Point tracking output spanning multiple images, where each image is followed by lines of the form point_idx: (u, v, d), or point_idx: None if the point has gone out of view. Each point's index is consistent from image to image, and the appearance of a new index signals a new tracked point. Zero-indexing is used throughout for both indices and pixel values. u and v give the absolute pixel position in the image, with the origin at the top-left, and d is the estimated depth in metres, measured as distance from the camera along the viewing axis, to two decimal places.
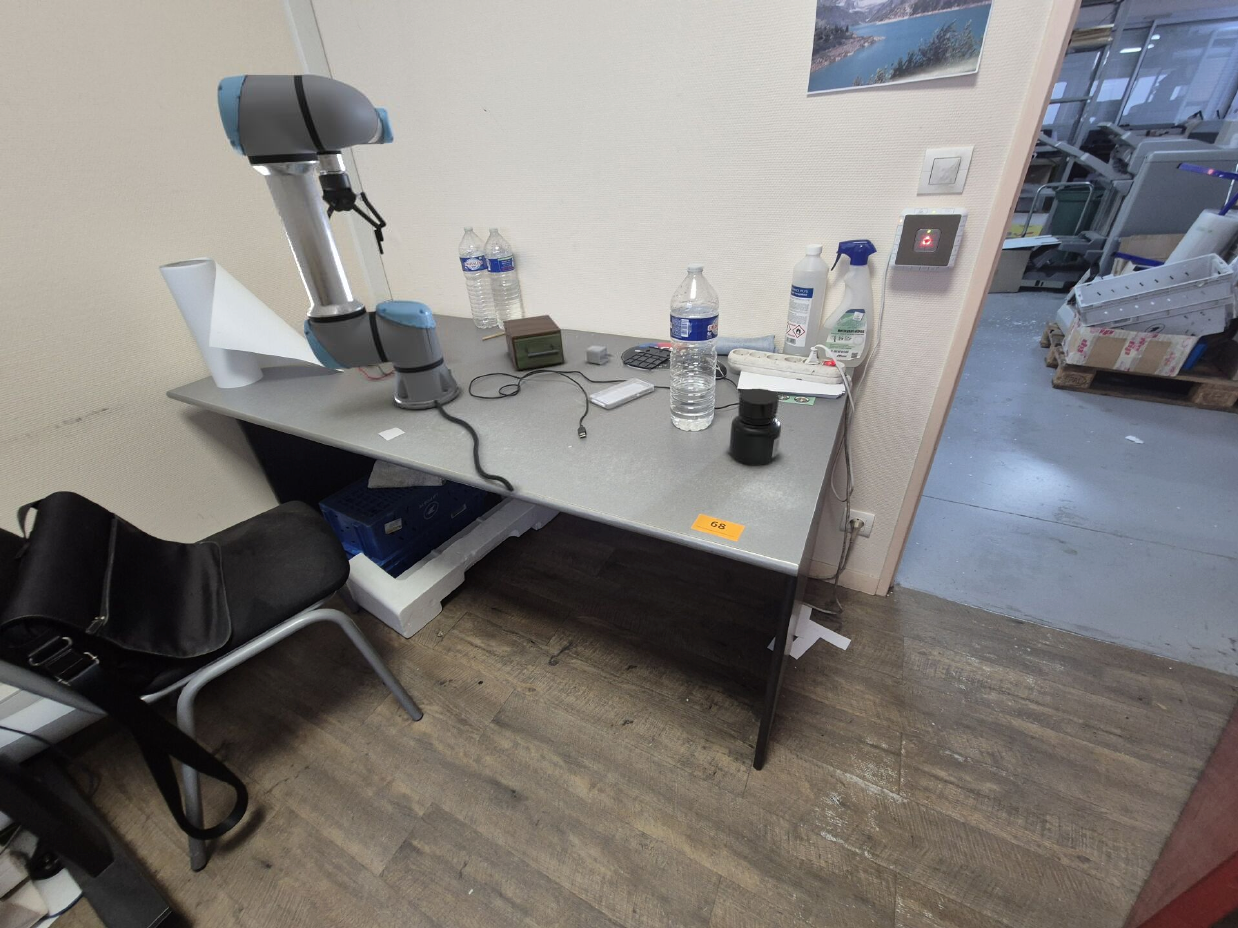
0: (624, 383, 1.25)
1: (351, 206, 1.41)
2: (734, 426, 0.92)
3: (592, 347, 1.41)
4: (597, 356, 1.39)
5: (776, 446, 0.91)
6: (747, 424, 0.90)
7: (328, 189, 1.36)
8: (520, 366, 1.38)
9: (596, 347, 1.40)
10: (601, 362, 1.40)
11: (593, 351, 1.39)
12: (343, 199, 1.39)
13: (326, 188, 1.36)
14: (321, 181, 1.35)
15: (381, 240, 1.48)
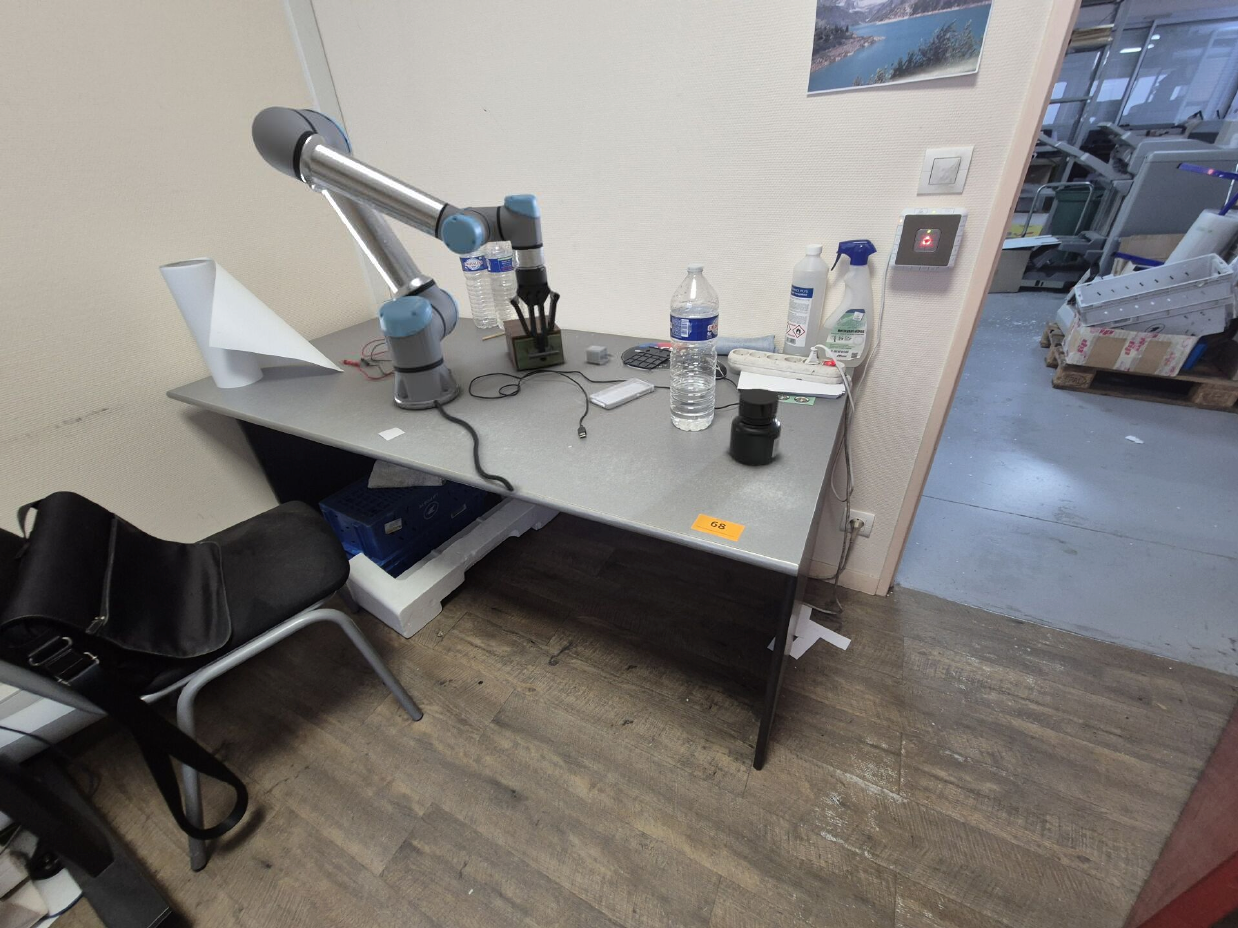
0: (624, 383, 1.25)
1: (540, 303, 1.25)
2: (734, 426, 0.92)
3: (592, 347, 1.41)
4: (597, 356, 1.39)
5: (776, 446, 0.91)
6: (747, 424, 0.90)
7: (527, 285, 1.21)
8: (520, 367, 1.37)
9: (596, 347, 1.40)
10: (601, 362, 1.40)
11: (593, 351, 1.39)
12: (539, 294, 1.24)
13: (525, 284, 1.21)
14: (520, 276, 1.20)
15: (546, 346, 1.32)
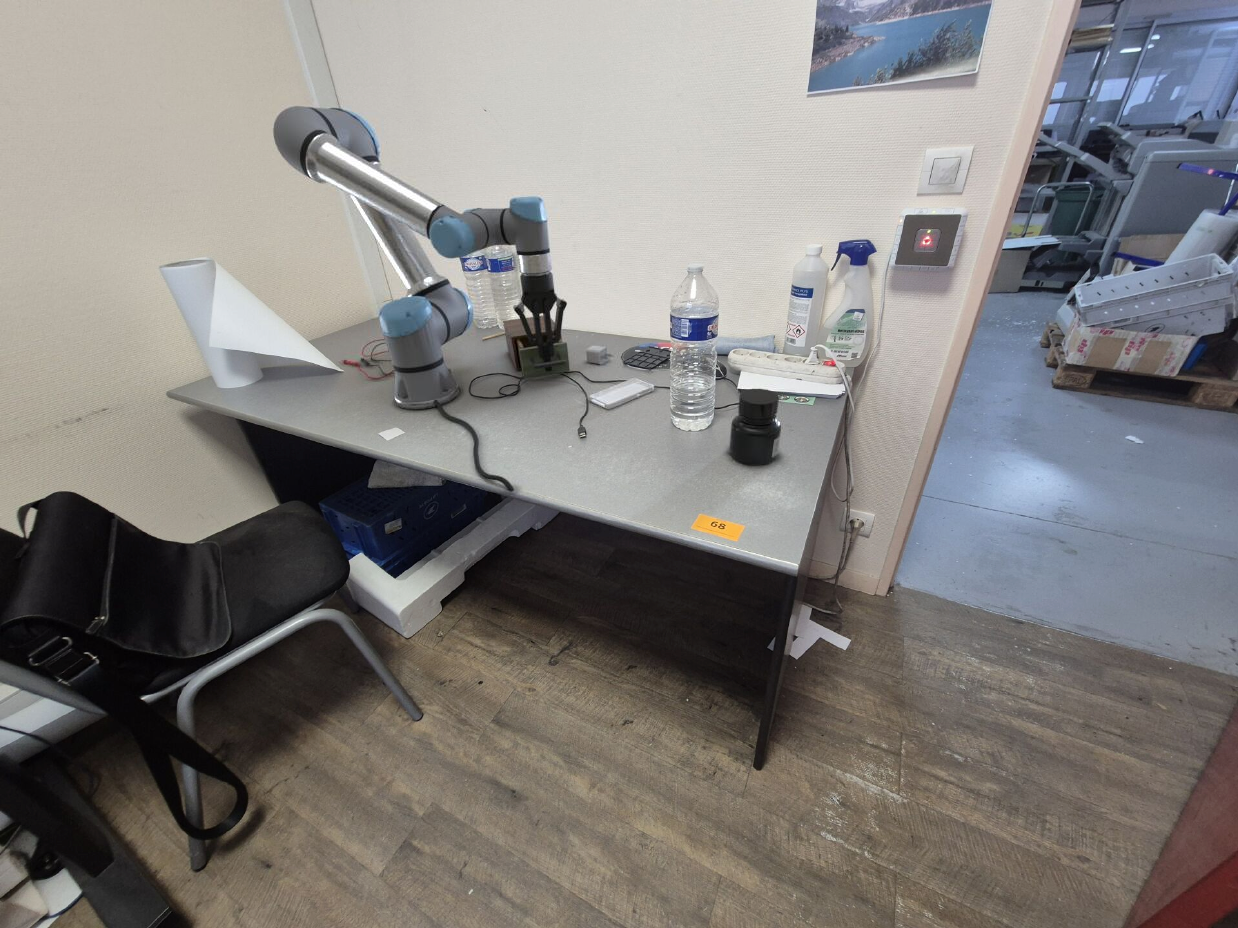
0: (624, 383, 1.25)
1: (546, 311, 1.19)
2: (734, 426, 0.92)
3: (592, 347, 1.41)
4: (597, 356, 1.39)
5: (776, 446, 0.91)
6: (747, 424, 0.90)
7: (532, 292, 1.15)
8: (525, 376, 1.31)
9: (596, 347, 1.40)
10: (601, 362, 1.40)
11: (593, 351, 1.39)
12: (545, 301, 1.18)
13: (530, 291, 1.15)
14: (525, 283, 1.14)
15: (551, 355, 1.26)
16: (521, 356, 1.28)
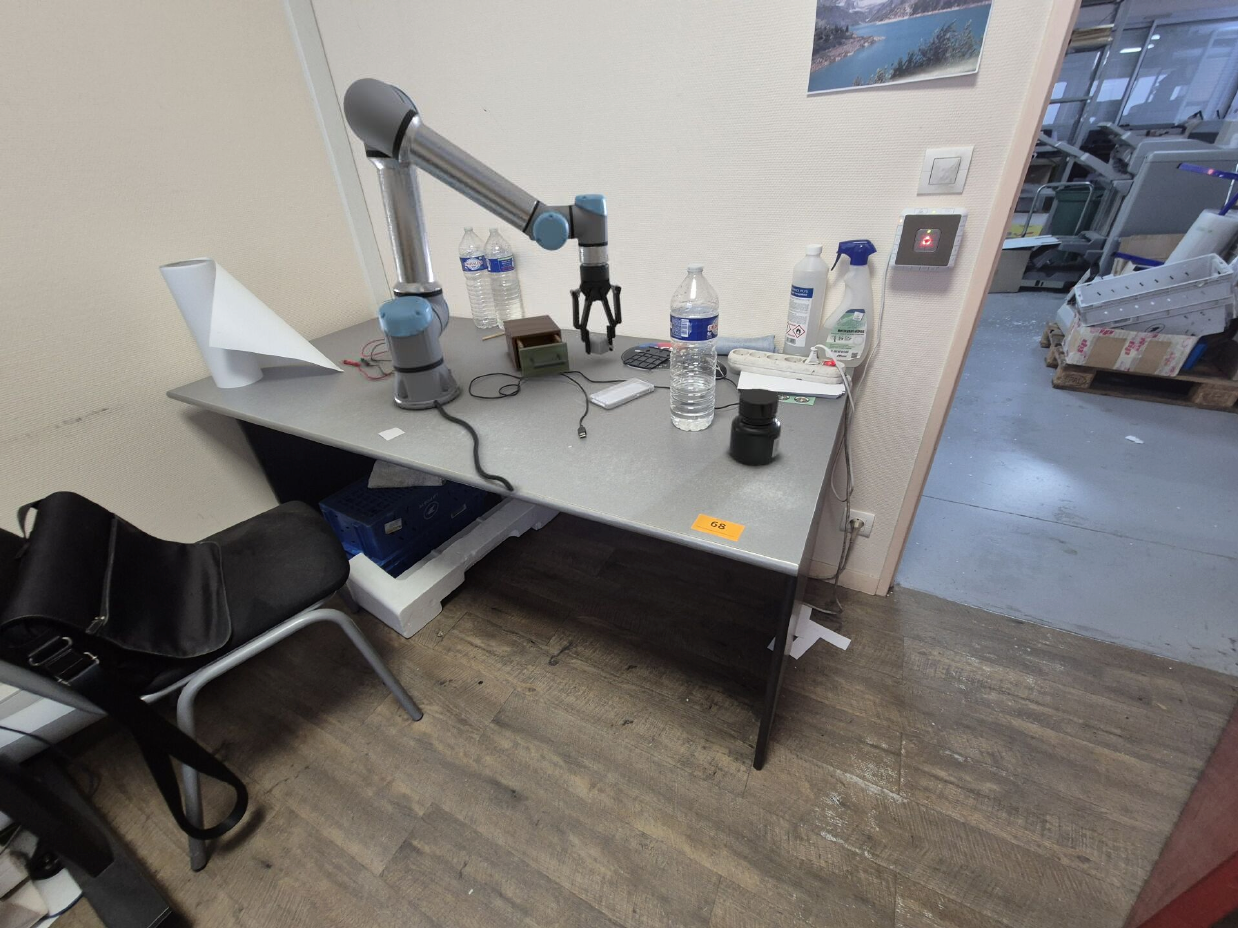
0: (624, 383, 1.25)
1: (604, 298, 1.31)
2: (734, 426, 0.92)
3: (594, 337, 1.39)
4: (597, 346, 1.37)
5: (776, 446, 0.91)
6: (747, 424, 0.90)
7: (591, 281, 1.26)
8: (525, 376, 1.31)
9: (598, 337, 1.39)
10: (601, 353, 1.38)
11: (594, 341, 1.37)
12: (601, 289, 1.29)
13: (589, 280, 1.26)
14: (585, 272, 1.26)
15: (613, 337, 1.38)
16: (521, 356, 1.28)
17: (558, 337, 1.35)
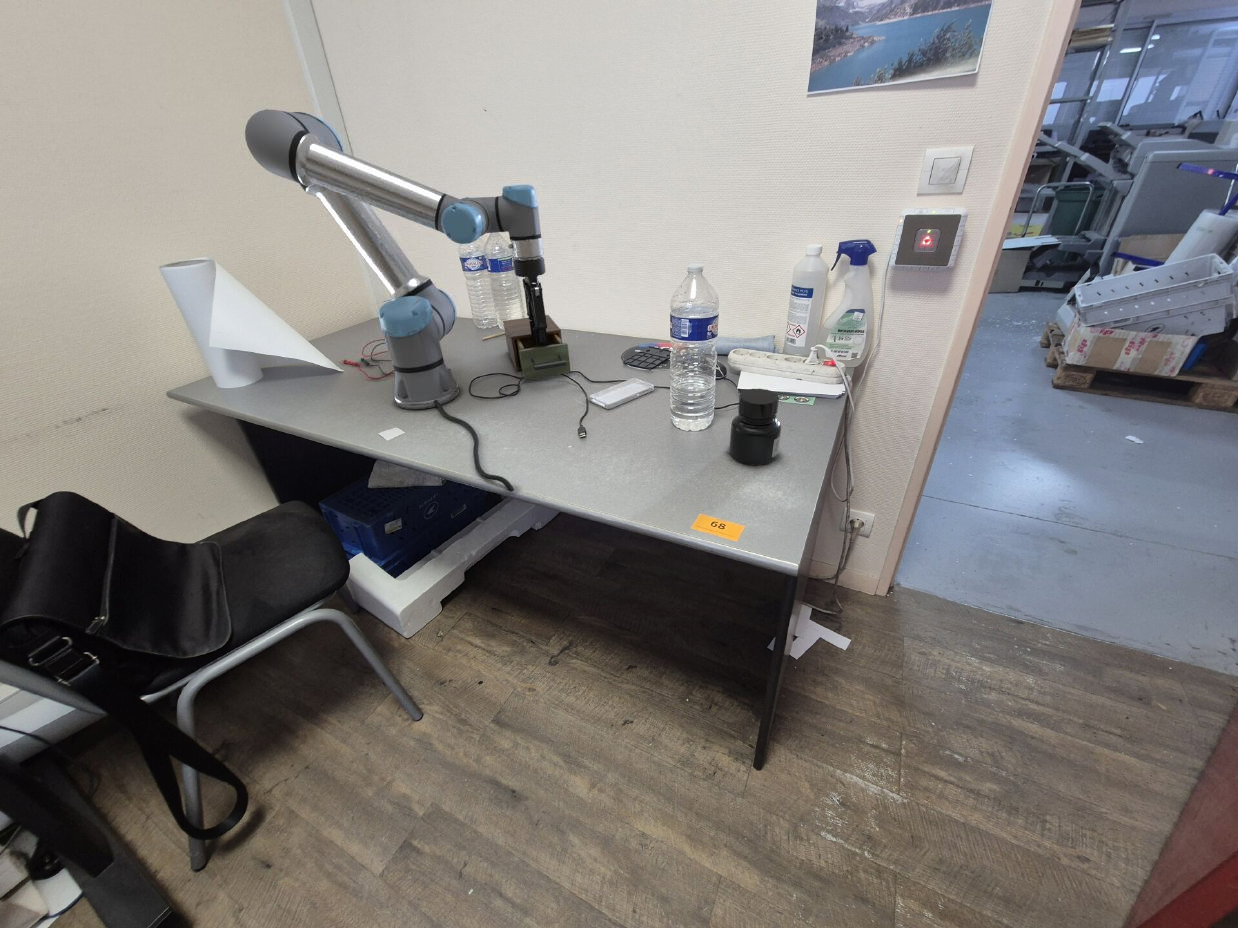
0: (624, 383, 1.25)
1: None
2: (734, 426, 0.92)
3: None
4: None
5: (776, 446, 0.91)
6: (747, 424, 0.90)
7: None
8: (525, 377, 1.30)
9: None
10: None
11: None
12: (538, 282, 1.26)
13: (543, 272, 1.22)
14: (540, 265, 1.21)
15: None
16: (522, 357, 1.27)
17: (559, 338, 1.34)
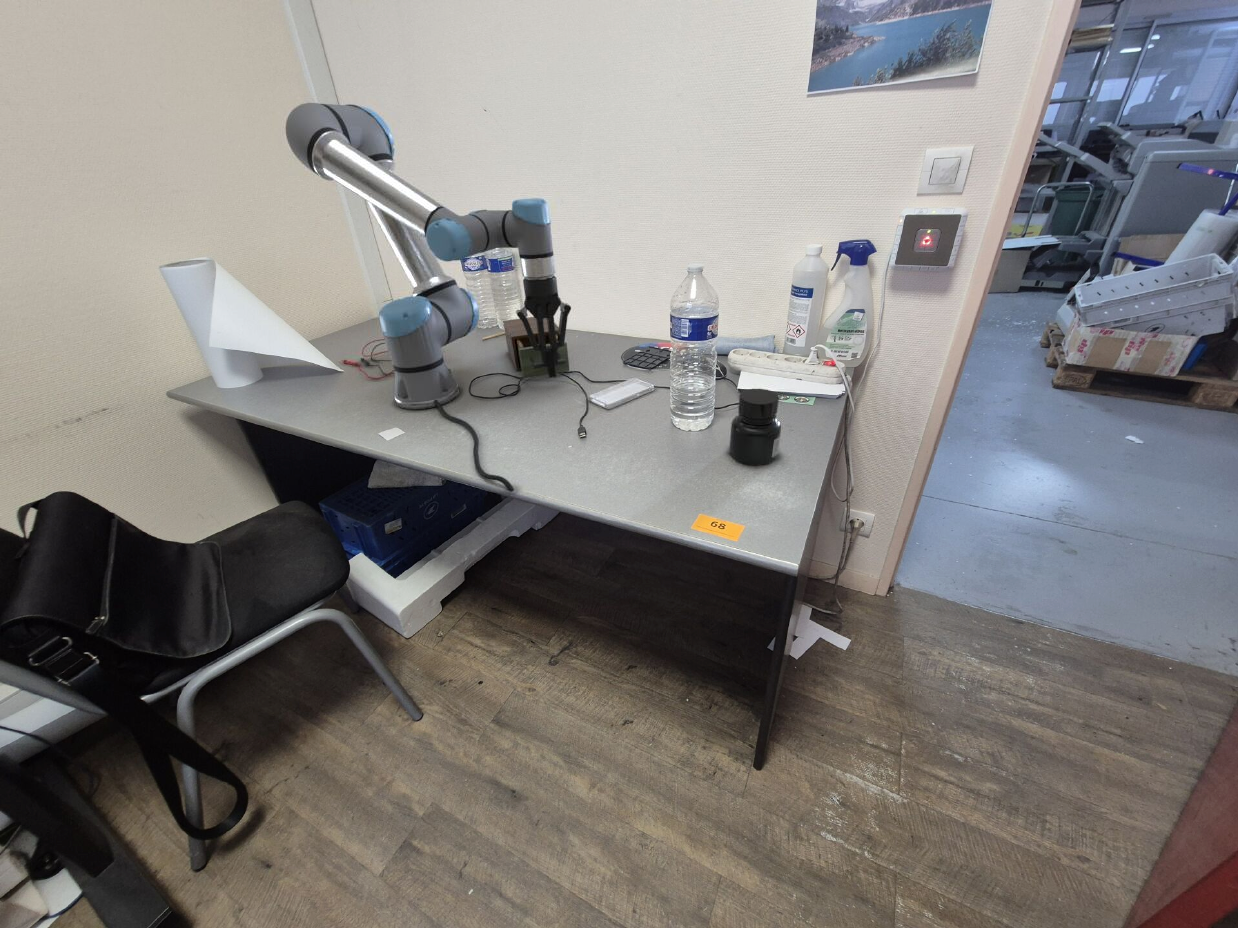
0: (624, 383, 1.25)
1: (550, 315, 1.16)
2: (734, 426, 0.92)
3: None
4: None
5: (776, 446, 0.91)
6: (747, 424, 0.90)
7: (536, 296, 1.12)
8: (525, 376, 1.31)
9: None
10: None
11: None
12: (548, 306, 1.15)
13: (533, 295, 1.11)
14: (528, 287, 1.11)
15: (555, 361, 1.23)
16: (521, 356, 1.28)
17: None
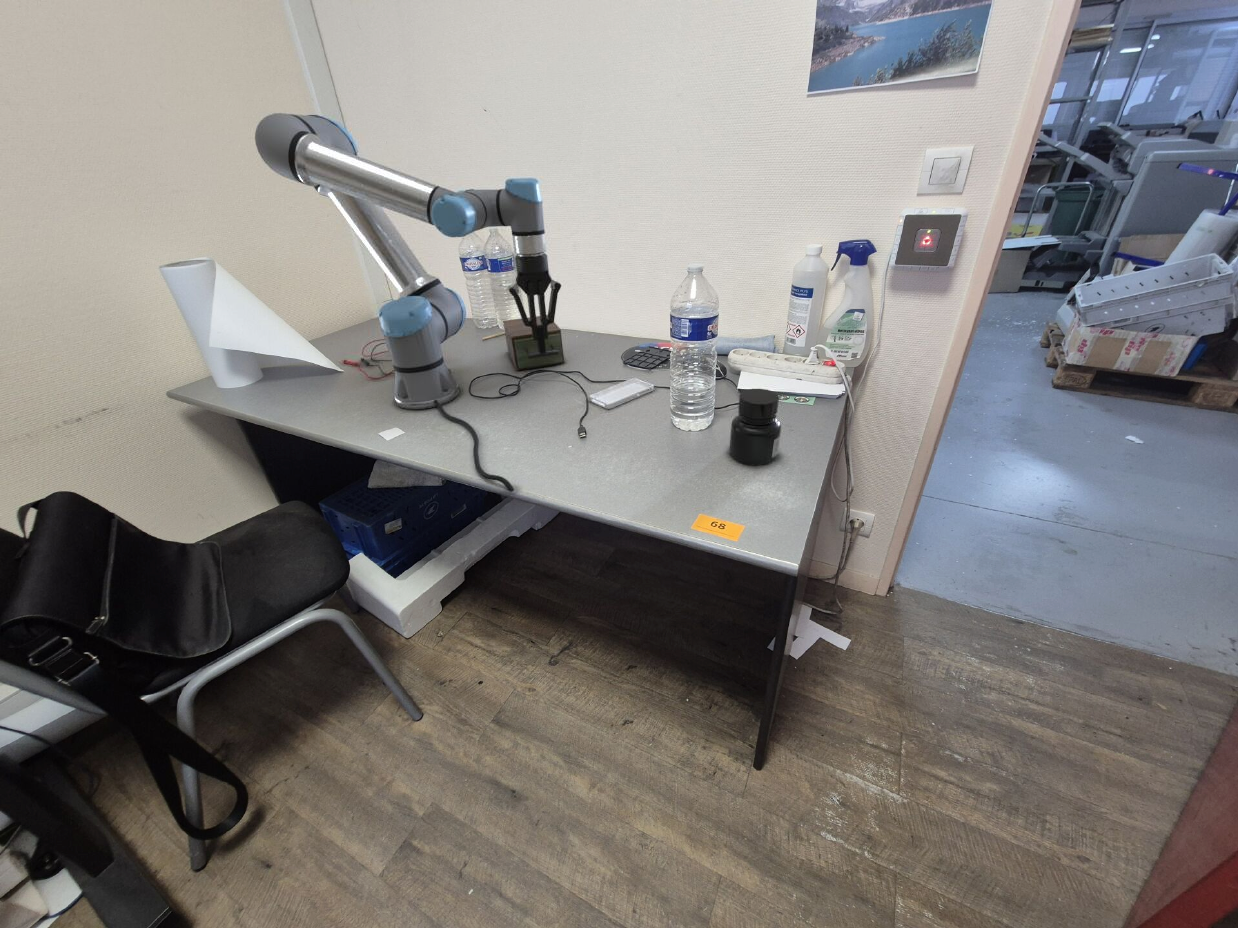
0: (624, 383, 1.25)
1: (541, 292, 1.21)
2: (734, 426, 0.92)
3: None
4: None
5: (776, 446, 0.91)
6: (747, 424, 0.90)
7: (527, 273, 1.16)
8: (520, 366, 1.38)
9: None
10: None
11: None
12: (539, 283, 1.19)
13: (525, 272, 1.16)
14: (520, 264, 1.16)
15: (545, 337, 1.27)
16: (516, 347, 1.35)
17: None
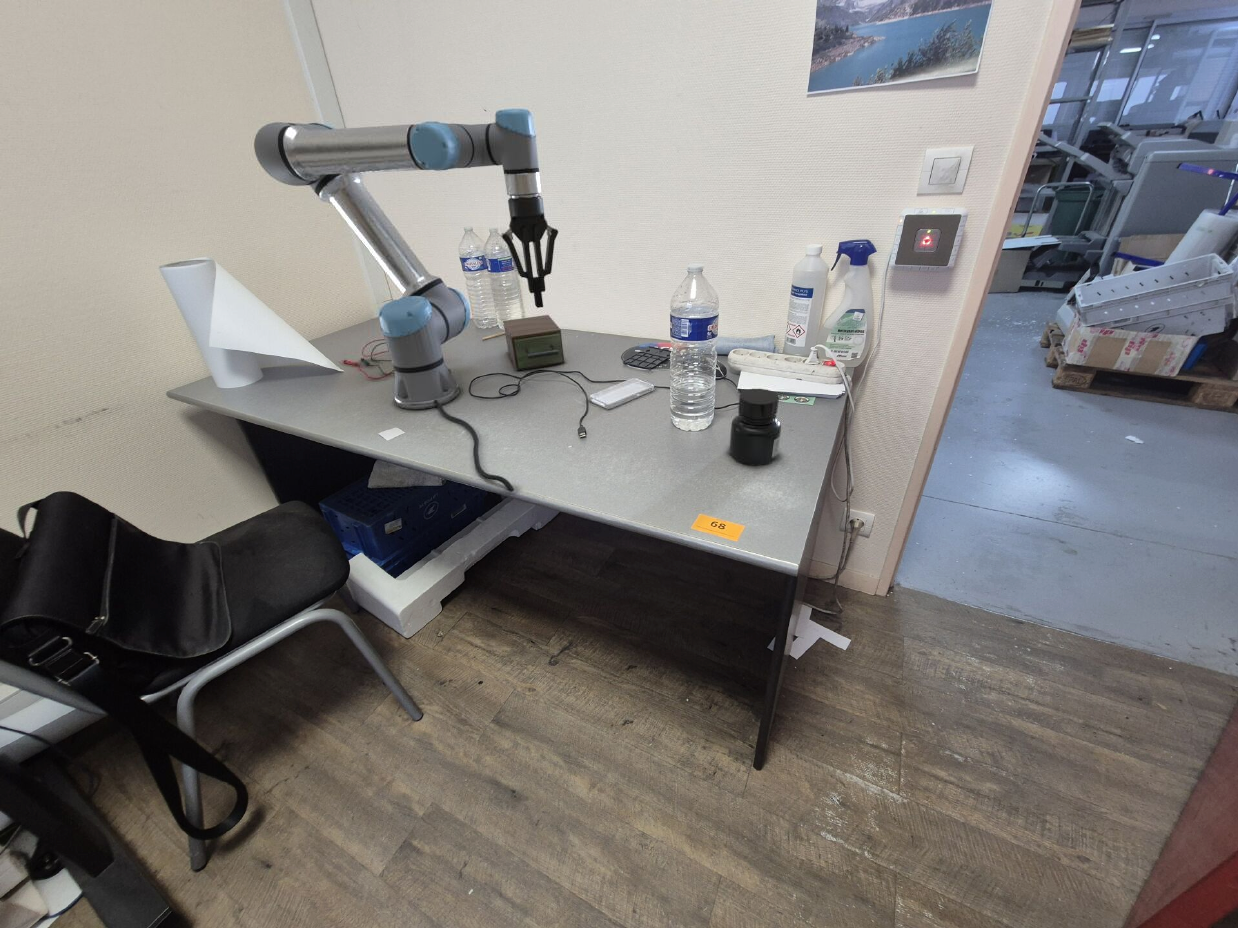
0: (624, 383, 1.25)
1: (536, 239, 1.12)
2: (734, 426, 0.92)
3: None
4: None
5: (776, 446, 0.91)
6: (747, 424, 0.90)
7: (521, 216, 1.08)
8: (520, 366, 1.38)
9: None
10: None
11: None
12: (535, 228, 1.11)
13: (519, 215, 1.08)
14: (513, 206, 1.07)
15: (542, 290, 1.19)
16: (516, 347, 1.35)
17: None
